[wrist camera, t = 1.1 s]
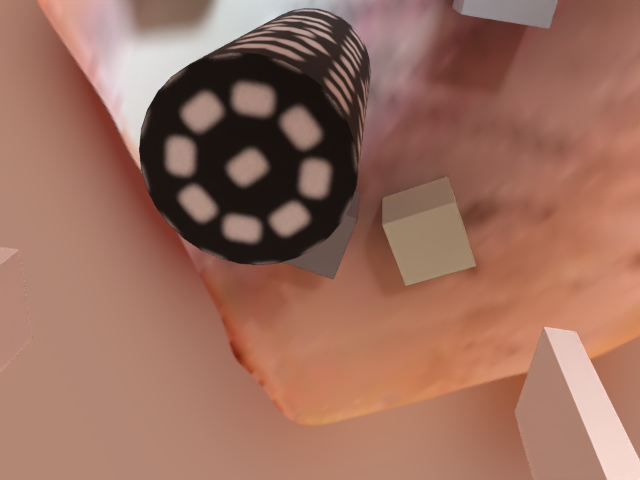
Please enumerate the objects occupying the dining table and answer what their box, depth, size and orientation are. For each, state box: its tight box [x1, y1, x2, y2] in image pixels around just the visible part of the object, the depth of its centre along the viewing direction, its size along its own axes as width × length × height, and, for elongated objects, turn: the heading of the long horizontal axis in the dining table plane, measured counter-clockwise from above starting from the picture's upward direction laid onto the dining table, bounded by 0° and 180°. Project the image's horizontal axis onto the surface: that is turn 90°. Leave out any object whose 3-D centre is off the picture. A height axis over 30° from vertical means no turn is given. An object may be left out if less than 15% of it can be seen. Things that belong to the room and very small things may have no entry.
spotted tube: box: [139, 8, 371, 265], centre depth 31 cm, size 8×8×20 cm
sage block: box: [382, 176, 476, 286], centre depth 41 cm, size 5×5×5 cm
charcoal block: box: [283, 191, 360, 279], centre depth 42 cm, size 5×5×5 cm
